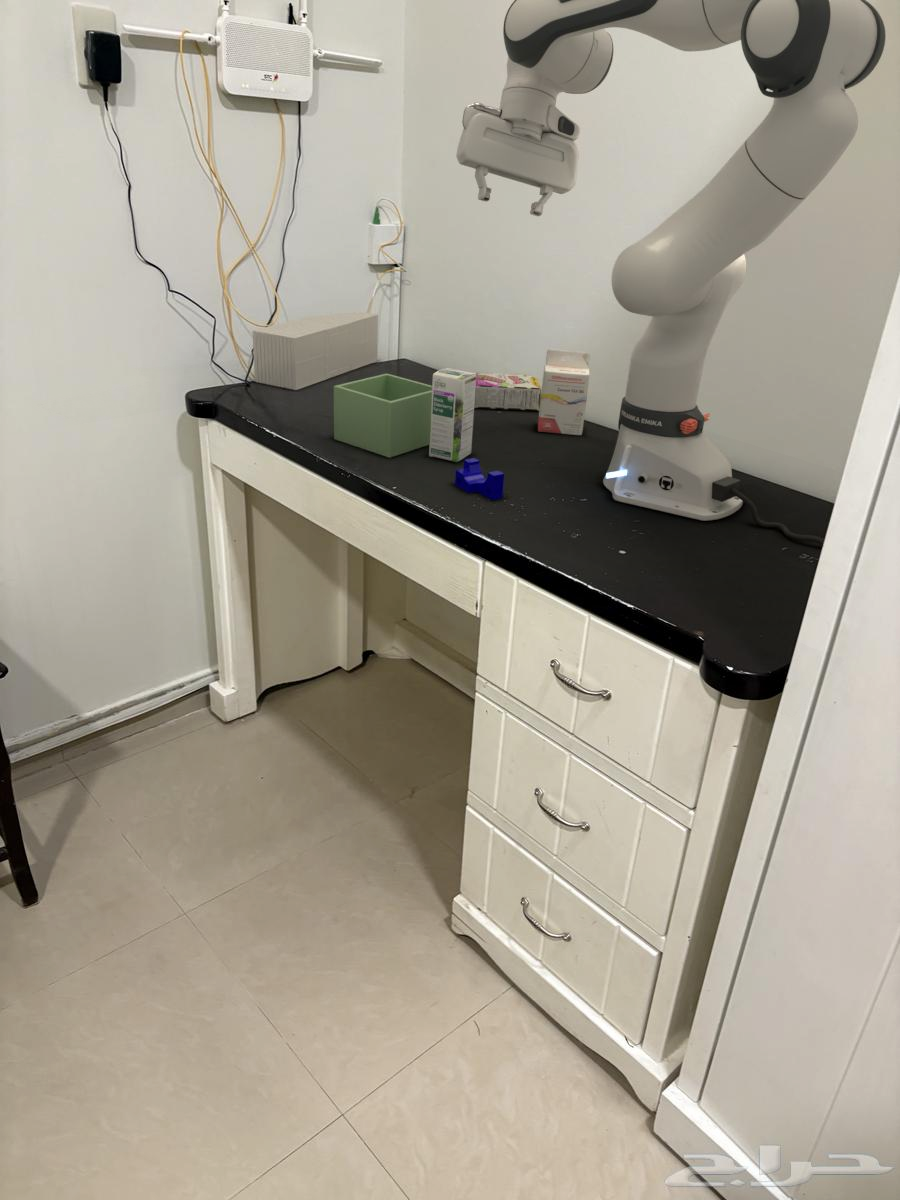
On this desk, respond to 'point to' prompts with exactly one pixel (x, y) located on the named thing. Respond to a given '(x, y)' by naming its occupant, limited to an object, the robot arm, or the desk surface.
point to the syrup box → (452, 414)
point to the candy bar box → (507, 392)
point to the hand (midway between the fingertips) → (509, 207)
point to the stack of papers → (314, 348)
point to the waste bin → (383, 414)
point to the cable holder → (479, 480)
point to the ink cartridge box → (564, 392)
